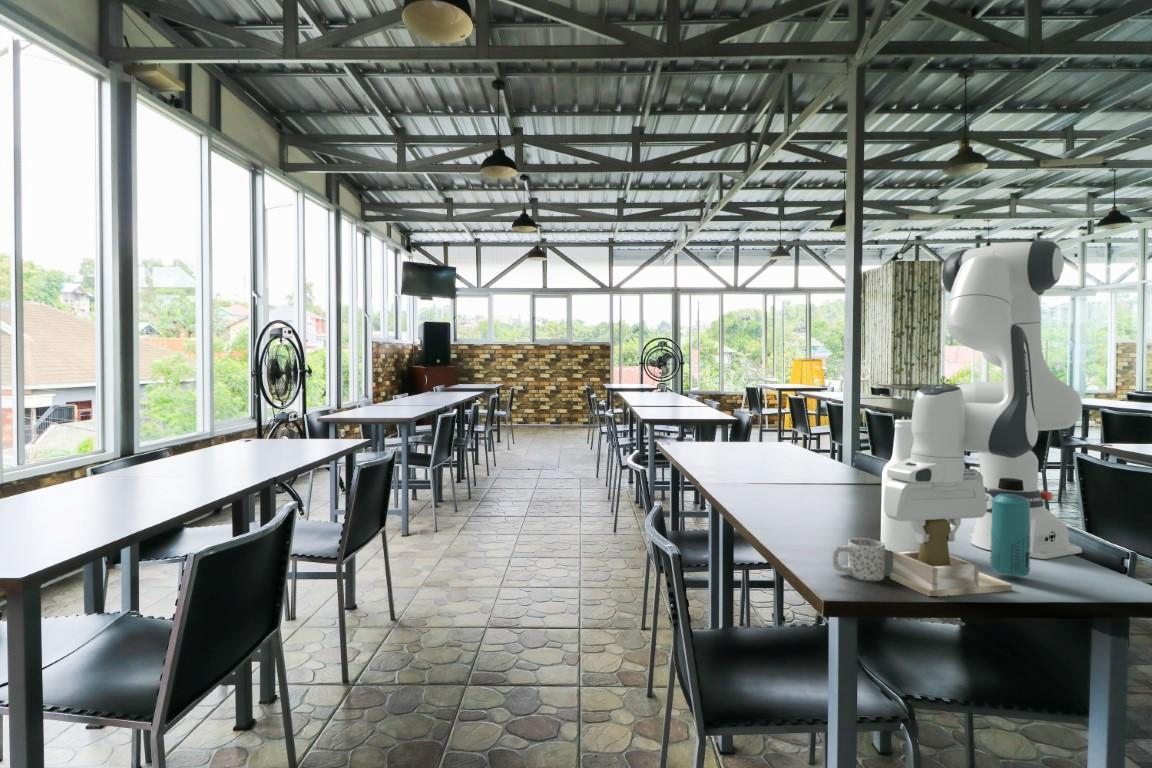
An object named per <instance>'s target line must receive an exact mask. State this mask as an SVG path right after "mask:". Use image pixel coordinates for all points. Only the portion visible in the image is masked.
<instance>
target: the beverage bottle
mask: <svg viewBox="0 0 1152 768" xmlns="http://www.w3.org/2000/svg"><path fill="white" fill-rule="evenodd" d="M998 488H999V489H1003V490H1010V491H1023V490H1024V487H1023V481H1022V480H1020V479H1014V478H1000V479H999V485H998ZM1030 528H1031V526H1030V502H1029V501H1028V500H1027V499H1026V498H1024V497H1023V496H1019V495H1012V494H998V495H997V496H995V497H994V498H993V499H992V528H991V538H990V539H991V541H990V542H991V545H990V548H991V550H989V551H990V555H989V556H990V557H989V558H990V559H989V560H990V562H989V563H990V564H989V565H990V566H991V569H992V570H993V571H995V572H997V573H1000V574H1004V575H1008V576H1016V577H1024V576H1028V575H1029V574H1030V568H1031V561H1030V557H1029V554H1030V552H1031V551H1030V547H1031V545H1030V542H1031V541H1030V538H1031V537H1030Z"/></svg>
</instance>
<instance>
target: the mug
mask: <svg viewBox="0 0 1152 768" xmlns="http://www.w3.org/2000/svg"><path fill="white" fill-rule="evenodd" d="M847 543H848V544H846V545H845V544H844V545H840V546H837V547H834V549H833V551H832V566H833V569H834V570H835V571H839V572H845V573H847V575H849V576H850V577H852V578H854V579H858V580H861V581H867V582H879V581H883V580H884V579H885V560H886V559H885V558H886V557H885V554H886V553H885V552H886V550H885V544H884V543H882V542H881V540H880V541H879V540H876V539H871V538H863V537H853V538H850V539H848V540H847ZM841 552H845V553H847V565H840V563H839V561H838V558H839V553H841Z"/></svg>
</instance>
